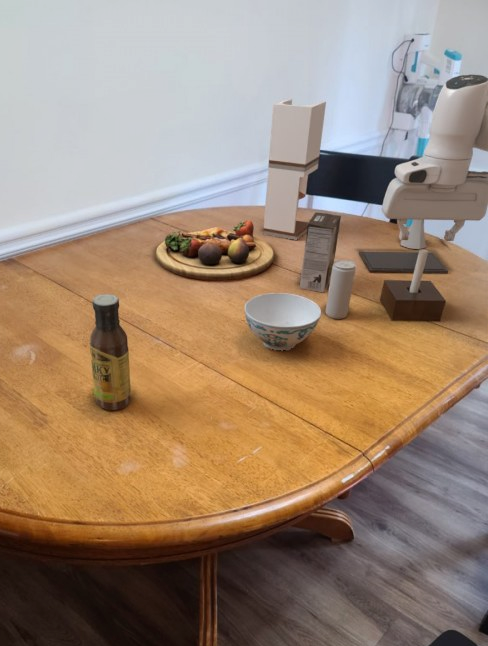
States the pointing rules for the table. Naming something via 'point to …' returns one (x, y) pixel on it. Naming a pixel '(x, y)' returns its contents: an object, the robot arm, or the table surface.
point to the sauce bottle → (109, 355)
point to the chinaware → (281, 319)
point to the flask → (415, 235)
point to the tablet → (400, 262)
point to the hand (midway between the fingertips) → (425, 239)
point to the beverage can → (340, 289)
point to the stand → (412, 301)
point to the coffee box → (319, 251)
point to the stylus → (418, 271)
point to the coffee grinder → (291, 165)
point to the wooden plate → (215, 253)
